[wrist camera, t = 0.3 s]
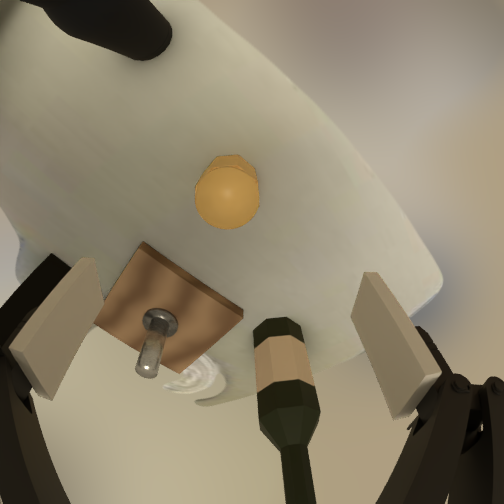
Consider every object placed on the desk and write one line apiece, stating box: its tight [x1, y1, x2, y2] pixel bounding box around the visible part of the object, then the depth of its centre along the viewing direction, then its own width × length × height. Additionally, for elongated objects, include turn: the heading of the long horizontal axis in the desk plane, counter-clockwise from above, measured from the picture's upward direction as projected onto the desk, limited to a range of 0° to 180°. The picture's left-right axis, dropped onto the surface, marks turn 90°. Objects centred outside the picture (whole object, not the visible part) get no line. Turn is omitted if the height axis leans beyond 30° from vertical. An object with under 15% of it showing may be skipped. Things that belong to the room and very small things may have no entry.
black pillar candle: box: [0, 253, 71, 348], centre depth 28 cm, size 8×8×28 cm
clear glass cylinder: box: [135, 308, 178, 379], centre depth 38 cm, size 6×6×10 cm
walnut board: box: [93, 242, 243, 374], centre depth 43 cm, size 18×18×2 cm
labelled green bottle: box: [253, 317, 320, 504], centre depth 33 cm, size 8×8×30 cm
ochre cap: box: [195, 155, 259, 229], centre depth 31 cm, size 6×6×8 cm
